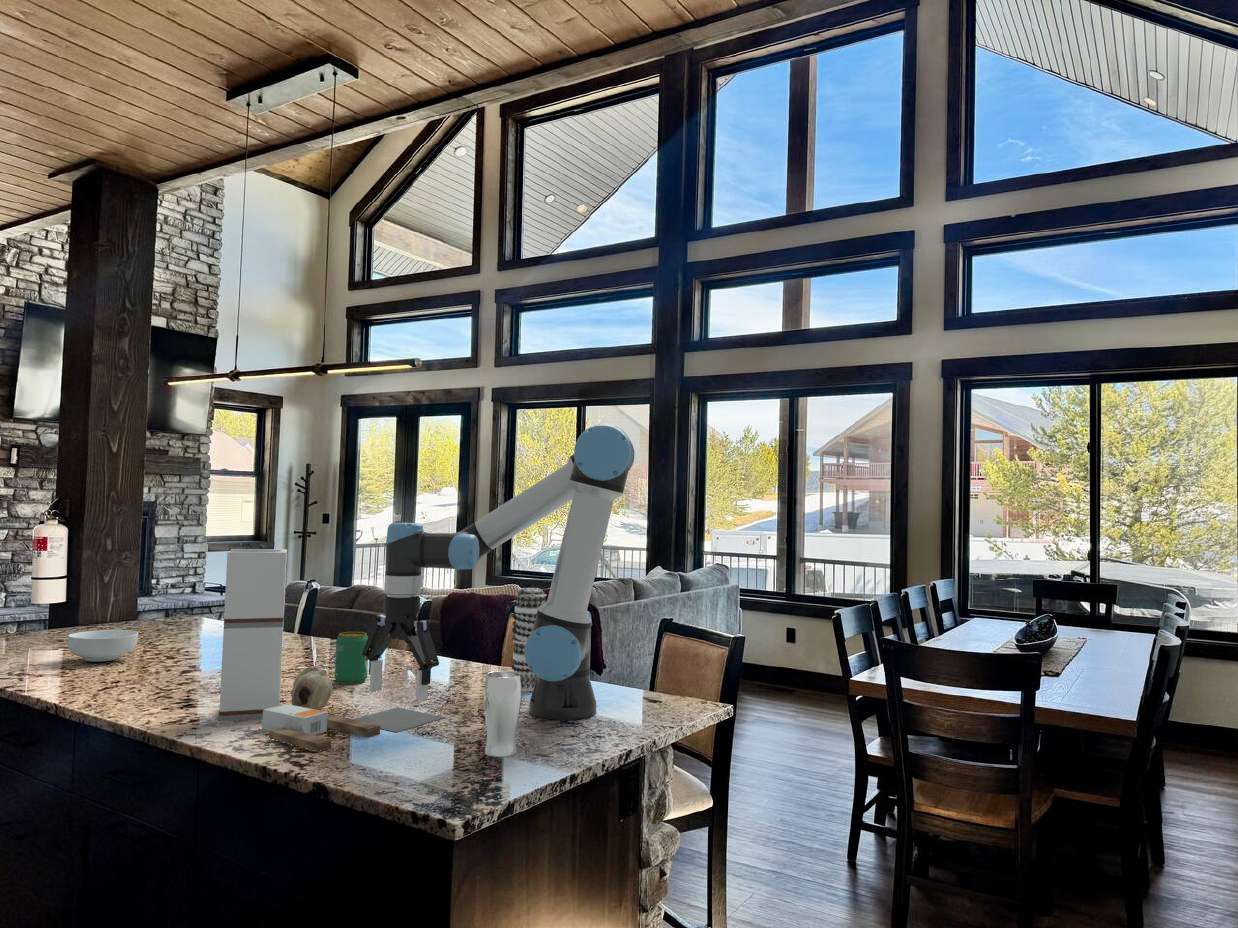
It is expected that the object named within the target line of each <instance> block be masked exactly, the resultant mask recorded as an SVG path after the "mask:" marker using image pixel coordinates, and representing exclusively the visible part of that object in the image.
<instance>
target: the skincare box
mask: <svg viewBox="0 0 1238 928" xmlns="http://www.w3.org/2000/svg"><path fill="white" fill-rule="evenodd" d="M327 716H328V712H327V711H323V710H321V711H320V710H315V709H309V708H304V707H299V706H294V705H292V704H287V703H286V704H282V705H280V706H277V707H272V708H268V709H264V710H263V718H262V720H261V721H262V723H261V729H262V730H263V731H264V730H265V731H268V732H269V731H270V730H274V729H278V728H282V727H283V728H287V729H291V730H295V731H299V732H303V733H307V734H311V735H315V736H317V735H318V734H323V733H325V732H328V731H327V730H328V728H327Z"/></svg>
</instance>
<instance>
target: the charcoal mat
mask: <svg viewBox="0 0 1238 928" xmlns="http://www.w3.org/2000/svg"><path fill="white" fill-rule="evenodd" d="M443 718H445V719H446V717H445V716H439V715H435V714H432V713H431V714H430V713H426V712H421V711H418V710H417V711H416V710H413V709H408V708H403V707H398V706H397V707H395V708H394V707H393V708H390V709H387V710H383V711H380V712H379V711H378V712H376V713H375V712H374V713H372V714H369V715H365V716H362V717H357V718H353V719H354V720H358V721H362V722H367V723H371V724H375V725H380V731H381V730H382V731H387V732H390V733H396V734H398V733H400V732H404V731H407V730H412V729H414V728H417V727H421V726H424V724H425V725H427V723H428V724H431V723H434V722H433V721H435V722H437V720H438V721H441V720H440V719H442V720H444V719H443Z"/></svg>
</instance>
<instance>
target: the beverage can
mask: <svg viewBox="0 0 1238 928" xmlns="http://www.w3.org/2000/svg"><path fill="white" fill-rule="evenodd" d="M368 637H369V635H367V632H364V631H346V632H344V631H343V632H341V633H339V634H338V636H337V638H336V639H335V659H334V660H335V663H334V679H335V681H336V683H337V684H341V685H357V684H362V683H365V682H366V679H367V678H368V674H369V660H368V658H367V657H366V656H363V655H362V652H363V649H364V647H365V644H366V642H367V639H368Z"/></svg>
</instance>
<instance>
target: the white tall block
mask: <svg viewBox="0 0 1238 928" xmlns="http://www.w3.org/2000/svg"><path fill="white" fill-rule="evenodd" d="M226 554H227V556H226V574H225V575H226V576H225V592H224V593H225V594H224V612H223V613H224V615H223V616H224V617H223V632H222V633H223V634H222V635H223V636H222V651H221V653H222V655H221V674H220V675H221V676H220V693H219V715H218V716H219V717H218V722H219V721H220V722H222V721H238V720H239V721H241V720H253V719H254V720H256V719H263V710H264V709H268V708H272V707H277V706H281V705H280V704H281V685H282V667H283V665H282V664H283V663H282V662H283V645H284V644H283V642H284V641H283V638H284V624H285V622H284V621H285V602H286V601H285V600H286V577H287V558H288V549H287V548H285V549H283V548H282V549H280V548H277V549H276V548H275V549H274V548H272V549H271V548H268V549H267V548H262V549H260V548H247V549H246V548H231V549H230V551H227V553H226Z"/></svg>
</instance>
